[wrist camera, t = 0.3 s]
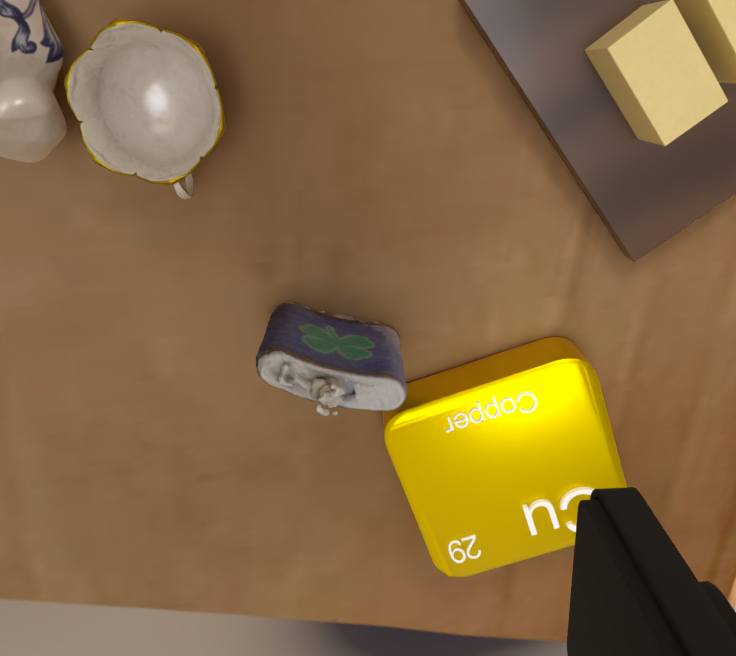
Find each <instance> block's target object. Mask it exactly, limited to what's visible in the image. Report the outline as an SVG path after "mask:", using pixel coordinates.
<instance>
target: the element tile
mask: <svg viewBox="0 0 736 656" xmlns="http://www.w3.org/2000/svg"><path fill="white" fill-rule="evenodd" d="M382 417H383V432H384V440H385V445H386V447H387V450H388V452H389V455H390V457H391V460H392V462H393V465H394V467H395V470H396V472H397V474H398V477H399V479H400V482H401V484H402V487H403V489H404V492H405V494H406V497H407V499H408V501H409V504H410V506H411V509H412V511H413V514H414V516H415V519H416V521H417V524H418V526H419V529H420V531H421V533H422V536H423V538H424V541H425V543H426V546H427V548H428V551H429V553H430V556H431V558H432V561H433V563H434V565H435V566H436V567H437V568H438V569H439V570H440V571H441V572H442V573H443V574H445V575H448V576H451V577H467V576H471V575H475V574H478V573H482V572H485V571H489V570H492V569H495V568H499V567H502V566H506V565H509V564H512V563H516V562H519V561H523V560H526V559H529V558H533V557H536V556H540V555H543V554H546V553H550V552H553V551H557V550H560V549H563V548H567V547H570V546H574V545H575V537H576V524H577V512H578V504H579V502H580V501H581V500H590V496H591V493H592V491H593V490H594V489H606V488H627V485H626V481H625V478H624V474H623V470H622V466H621V462H620V459H619V455H618V451H617V447H616V443H615V440H614V436H613V432H612V428H611V425H610V421H609V417H608V413H607V409H606V406H605V402H604V398H603V394H602V390H601V387H600V383H599V379H598V376H597V374H596V372H595V370H594V368H593V367H592V366H591V364H590V363H589V362H588V360H587V359H586V358H585V357H584V355H583V354H582V353H581V351H580V350H579V349H578V348H577V347H576V346H575V344H574V343H573V342H572V341H570V340H567V339H565V338H563V337H549V338H544V339H540V340H537V341H534V342H531V343H528V344H525V345H522V346H519V347H516V348H513V349H510V350H507V351H504V352H501V353H498V354H495V355H492V356H489V357H486V358H483V359H480V360H477V361H474V362H471V363H468V364H465V365H462V366H459V367H456V368H453V369H450V370H447V371H444V372H441V373H438V374H435V375H431V376H428V377H425V378H422V379H419V380H416V381H413V382H410V383H407V395H406V398H405V401H404V402H403V404H402V405H401V406H400V407H398V408H397V409H395V410H389V411H382Z"/></svg>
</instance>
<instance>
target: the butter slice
mask: <svg viewBox="0 0 736 656" xmlns="http://www.w3.org/2000/svg"><path fill="white" fill-rule="evenodd" d="M585 52H586V54H587V56H588V57H589V59H590V61H591V62H592V64H593V66H594V67H595V69H596V71H597V72H598V74H599V76H600V77H601V79H602V80H603V82H604V84H605V85H606V87H607V89H608V90H609V92H610V94H611V95H612V97H613V99H614V100H615V102H616V104H617V105H618V107H619V109H620V110H621V112H622V114H623V115H624V117H625V118H626V120H627V122H628V123H629V125H630V127H631V128H632V130H633V132H634V133H635V135H636V137H637V138H638V139H639V140H643V141H647V142H651V143H655V144H658V145H662V146H666V145H668V144H669V143H671V142H672V141H674V140H675V139H676V138H678V137H679V136H681V135H682V134H683V133H685V132H686V131H688V130H689V129H690V128H692V127H693V126H695V125H696V124H697V123H699V122H700V121H702V120H703V119H704V118H706V117H707V116H709V115H710V114H711V113H713V112H714V111H716V110H717V109H718V108H720V107H721V106H723V105H724V104H725V103H727V102H728V99H727V98H726V96H725V94H724V92H723V90H722V88H721V87H720V85H719V83H718V81H717V79H716V77H715V76H714V74H713V72H712V70H711V68H710V66H709V65H708V63H707V61H706V59H705V57H704V55H703V54H702V52H701V50H700V48H699V46H698V44H697V43H696V41H695V39H694V37H693V35H692V33H691V32H690V30H689V28H688V26H687V24H686V22H685V21H684V19H683V17H682V15H681V13H680V11H679V10H678V8H677V6H676V4H675V2H674V1H673V0H665V1H660V2H656V3H651V4H647V5H642V6H641V7H640V8H638V9H637V10H636V11H634V12H633V13H632V14H631V15H629V16H628V17H627V18H625V19H624V20H623V21H621V22H620V23H619V24H618V25H616V26H615V27H614V28H612V29H611V30H610V31H608V32H607V33H606V34H605V35H603V36H602V37H601V38H599V39H598V40H597V41H595V42H594V43H593V44H592V45H590V46H589V47H588V48H586V49H585Z"/></svg>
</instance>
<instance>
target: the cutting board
mask: <svg viewBox="0 0 736 656" xmlns="http://www.w3.org/2000/svg"><path fill="white" fill-rule="evenodd" d="M459 1H460V3H461V4H462V6H463V7H464V9H465V10H466V12H467V14H468V15H469V17H470V18H471V20H472V21H473V23H474V24H475V26H476V27H477V29H478V30H479V32H480V33H481V35H482V37H483V38H484V40H485V41H486V43H487V44H488V46H489V47H490V49H491V50H492V52H493V53H494V55H495V56H496V58H497V60H498V61H499V63H500V64H501V66H502V67H503V69H504V70H505V72H506V73H507V75H508V76H509V78H510V79H511V81H512V83H513V84H514V86H515V87H516V89H517V90H518V92H519V93H520V95H521V96H522V98H523V99H524V101H525V102H526V104H527V106H528V107H529V109H530V110H531V112H532V113H533V115H534V116H535V118H536V119H537V121H538V122H539V124H540V125H541V127H542V129H543V130H544V132H545V133H546V135H547V136H548V138H549V139H550V141H551V142H552V144H553V145H554V147H555V148H556V150H557V152H558V153H559V155H560V156H561V158H562V159H563V161H564V162H565V164H566V165H567V167H568V168H569V170H570V171H571V173H572V175H573V176H574V178H575V179H576V181H577V182H578V184H579V185H580V187H581V188H582V190H583V191H584V193H585V194H586V196H587V198H588V199H589V201H590V202H591V204H592V205H593V207H594V208H595V210H596V211H597V213H598V214H599V216H600V217H601V219H602V221H603V222H604V224H605V225H606V227H607V228H608V230H609V231H610V233H611V234H612V236H613V237H614V239H615V240H616V242H617V244H618V245H619V247H620V248H621V250H622V251H623V253H624V254H625V256H626V257H628V258H629V259H631V260H632V261H633V262H635V261H636V260H638V259H639V258H641V257H642V256H644V255H645V254H647V253H648V252H650V251H651V250H653V249H654V248H656V247H657V246H658V245H660V244H661V243H663V242H664V241H666V240H667V239H669V238H670V237H672V236H673V235H675V234H676V233H678V232H679V231H681V230H682V229H683V228H685V227H686V226H688V225H689V224H691V223H692V222H694V221H695V220H697V219H698V218H700V217H701V216H703V215H704V214H706V213H707V212H708V211H710V210H711V209H713V208H714V207H716V206H717V205H719V204H720V203H722V202H723V201H725V200H726V199H728V198H729V197H731V196H732V195H733V194H735V193H736V83H719V85H720V87H721V88H722V90H723V92H724V94H725V96H726V98H727V99H728V102H727V103H725V104H724V105H723V106H721V107H720V108H718V109H717V110H716V111H714V112H713V113H711V114H710V115H709V116H707V117H706V118H704V119H703V120H702V121H700V122H699V123H697V124H696V125H695V126H693V127H692V128H690V129H689V130H688V131H686V132H685V133H683V134H682V135H681V136H679V137H678V138H676V139H675V140H674V141H672V142H671V143H669V144H668V145H666V146H662V145H658V144H655V143H651V142H647V141H643V140H639V139H638V138H637V137H636V135H635V133H634V132H633V130H632V128H631V127H630V125H629V123H628V122H627V120H626V118H625V117H624V115H623V114H622V112H621V110H620V109H619V107H618V105H617V104H616V102H615V100H614V99H613V97H612V95H611V94H610V92H609V90H608V89H607V87H606V85H605V84H604V82H603V80H602V79H601V77H600V76H599V74H598V72H597V71H596V69H595V67H594V66H593V64H592V62H591V61H590V59H589V57H588V56H587V54H586V52H585V49H586V48H588V47H589V46H590V45H592V44H593V43H594V42H595V41H597V40H598V39H599V38H601V37H602V36H603V35H605V34H606V33H607V32H608V31H610V30H611V29H612V28H614V27H615V26H616V25H618V24H619V23H620V22H621V21H623V20H624V19H625V18H627V17H628V16H629V15H631V14H632V13H633V12H634V11H636V10H637V9H638V8H640V7H641V6H642V5H647V4H651V3H656V2H660V1H665V0H459Z"/></svg>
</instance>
